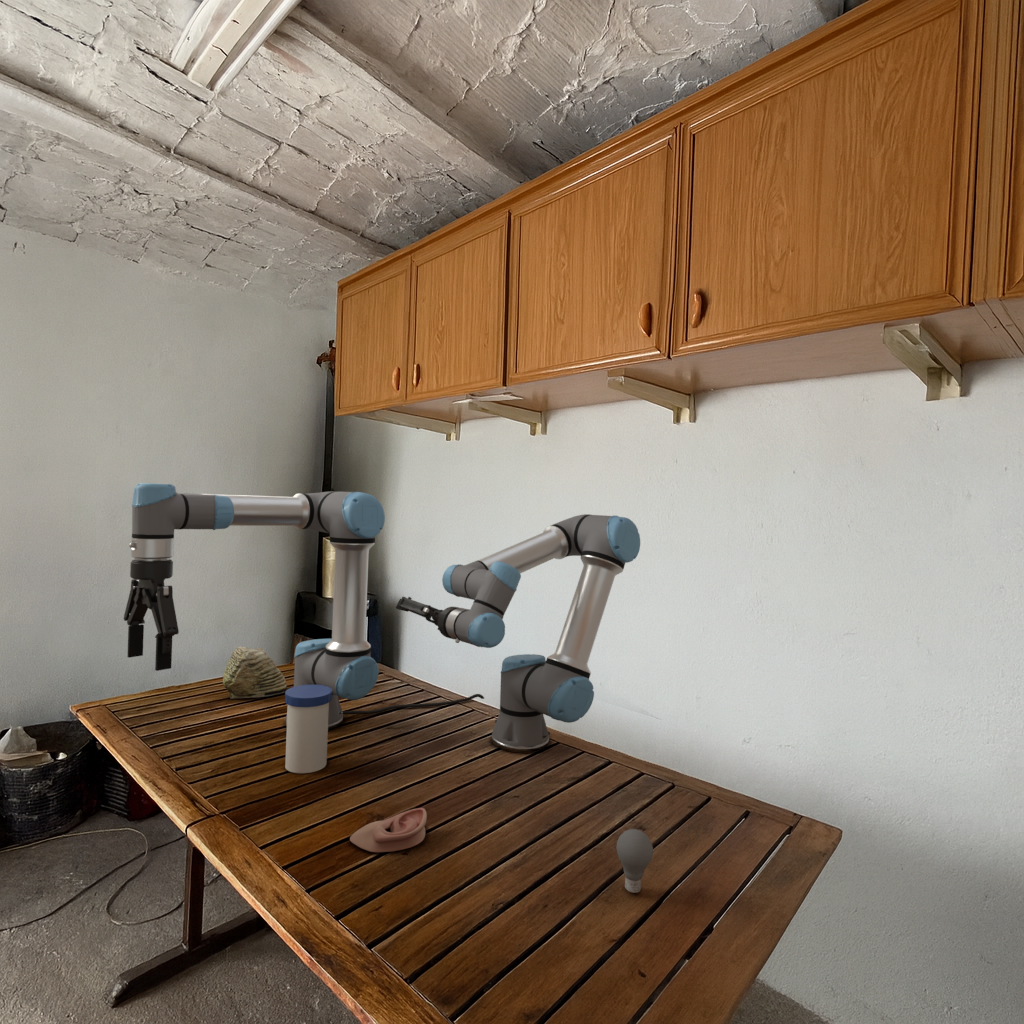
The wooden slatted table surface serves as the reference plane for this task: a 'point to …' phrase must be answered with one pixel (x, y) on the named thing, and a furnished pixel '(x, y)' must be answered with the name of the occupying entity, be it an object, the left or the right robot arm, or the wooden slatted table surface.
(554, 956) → the wooden slatted table surface
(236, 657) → the fossil
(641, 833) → the light bulb
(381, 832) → the anatomical model
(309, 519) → the left robot arm
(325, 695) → the lid
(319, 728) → the jar
